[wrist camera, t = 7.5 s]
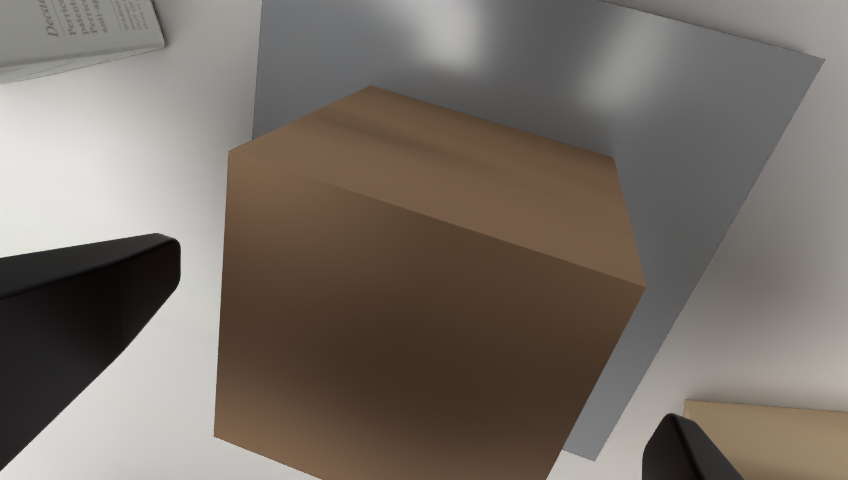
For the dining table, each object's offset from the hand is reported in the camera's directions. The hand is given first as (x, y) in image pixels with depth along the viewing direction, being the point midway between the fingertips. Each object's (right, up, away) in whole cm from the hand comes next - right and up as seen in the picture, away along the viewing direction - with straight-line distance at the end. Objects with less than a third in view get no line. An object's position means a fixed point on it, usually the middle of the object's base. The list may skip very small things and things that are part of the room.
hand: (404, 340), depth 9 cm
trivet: (+1, +2, +5) cm, 6 cm away
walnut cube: (+1, +2, +5) cm, 5 cm away
